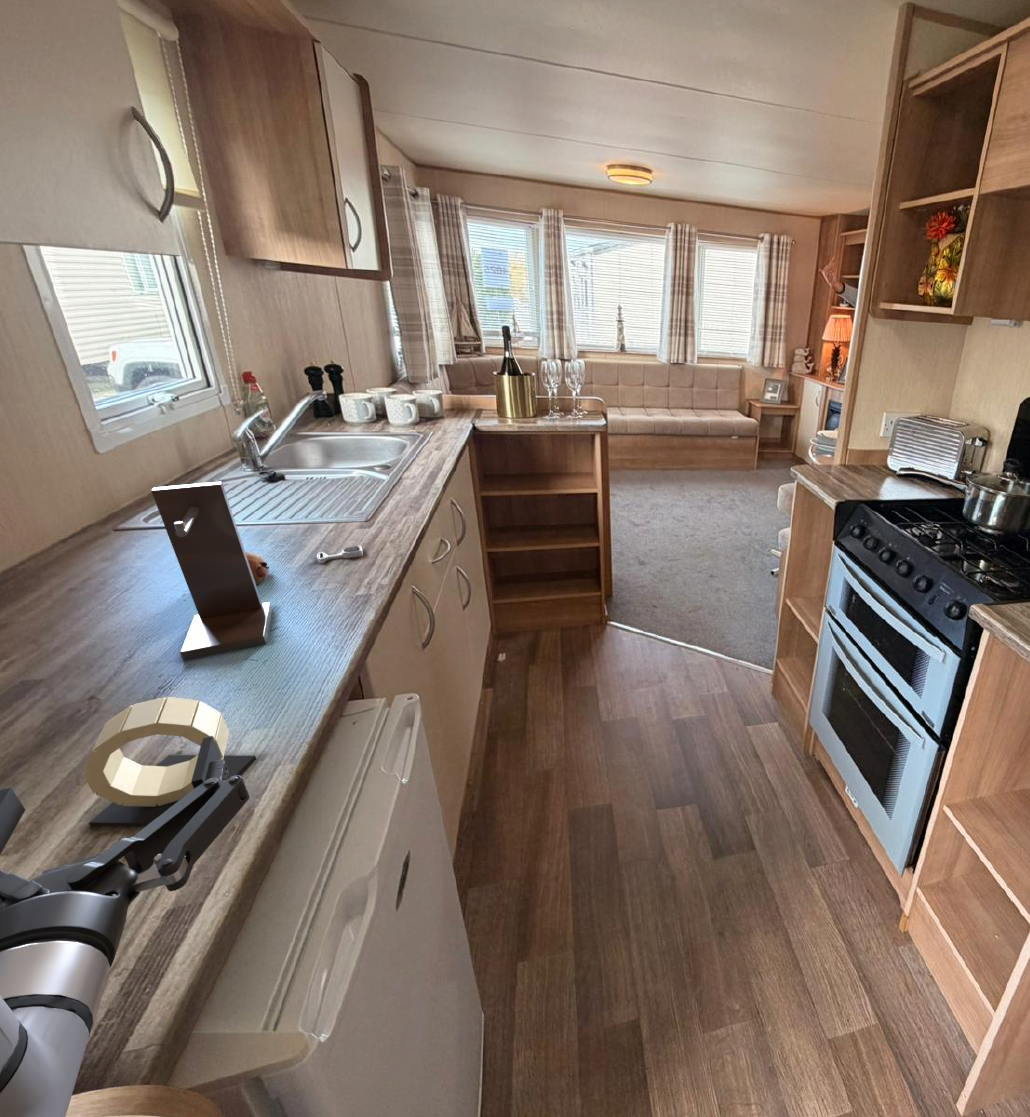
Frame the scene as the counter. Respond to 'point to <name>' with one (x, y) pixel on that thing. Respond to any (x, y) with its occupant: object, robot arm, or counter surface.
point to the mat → (146, 815)
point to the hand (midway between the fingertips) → (118, 771)
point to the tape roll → (151, 783)
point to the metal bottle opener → (341, 554)
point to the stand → (213, 570)
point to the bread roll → (257, 567)
